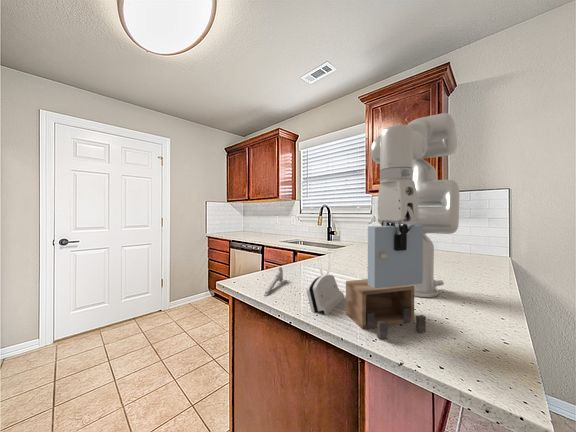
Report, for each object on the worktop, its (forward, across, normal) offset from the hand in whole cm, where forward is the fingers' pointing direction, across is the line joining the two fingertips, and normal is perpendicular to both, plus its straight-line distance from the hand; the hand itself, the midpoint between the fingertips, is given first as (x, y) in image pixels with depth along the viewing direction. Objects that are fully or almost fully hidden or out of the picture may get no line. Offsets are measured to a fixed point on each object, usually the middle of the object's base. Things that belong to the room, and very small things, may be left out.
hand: (395, 248), depth 61 cm
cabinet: (+21, +4, 0) cm, 22 cm away
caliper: (+22, +41, +24) cm, 52 cm away
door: (+9, 0, 0) cm, 9 cm away
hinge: (+22, +21, +10) cm, 32 cm away
